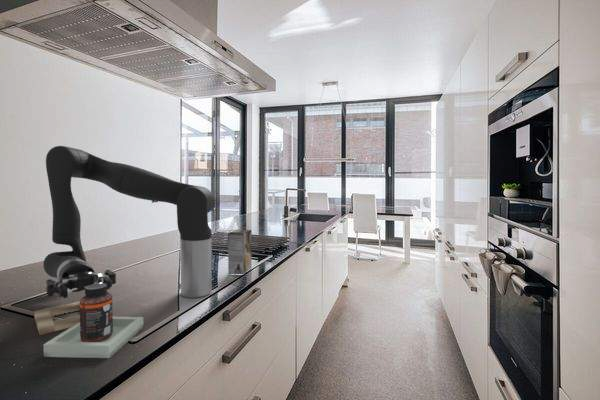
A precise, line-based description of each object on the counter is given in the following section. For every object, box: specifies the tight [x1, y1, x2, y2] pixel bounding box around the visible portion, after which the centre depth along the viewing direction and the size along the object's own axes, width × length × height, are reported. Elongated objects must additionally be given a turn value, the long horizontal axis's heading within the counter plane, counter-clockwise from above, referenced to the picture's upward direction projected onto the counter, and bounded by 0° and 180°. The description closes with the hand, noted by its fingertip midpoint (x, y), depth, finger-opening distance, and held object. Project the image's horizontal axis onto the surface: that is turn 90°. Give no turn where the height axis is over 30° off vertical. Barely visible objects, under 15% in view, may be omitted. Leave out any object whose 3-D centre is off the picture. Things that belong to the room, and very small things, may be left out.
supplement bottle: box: [79, 283, 114, 342], centre depth 67 cm, size 6×6×11 cm
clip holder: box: [33, 300, 80, 336], centre depth 79 cm, size 13×13×2 cm
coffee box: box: [227, 229, 253, 276], centre depth 120 cm, size 9×6×16 cm
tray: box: [42, 316, 145, 359], centre depth 67 cm, size 13×13×2 cm
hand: (88, 289), depth 74 cm, fingers open, 8 cm apart
